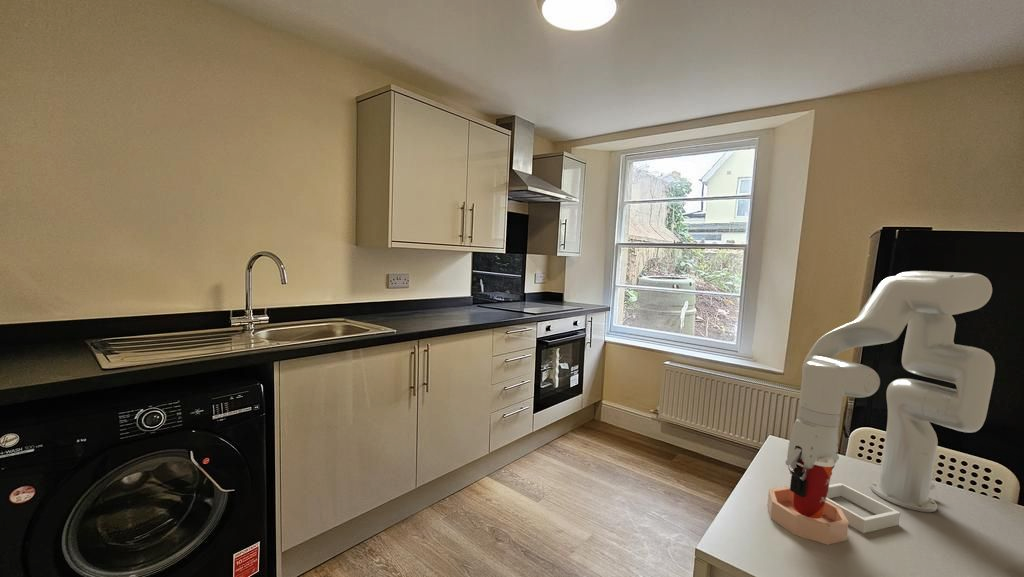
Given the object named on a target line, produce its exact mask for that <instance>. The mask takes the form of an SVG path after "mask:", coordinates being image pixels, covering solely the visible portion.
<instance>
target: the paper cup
mask: <svg viewBox="0 0 1024 577" xmlns="http://www.w3.org/2000/svg"><path fill="white" fill-rule="evenodd" d="M817 460H818V461H817ZM798 462H799V463H801V464H803V465H804V462H803V461H802V457H801V458H800V459H799V461H798ZM813 464H814V466H813V468H812V469H809V471H808V474H807V476H806V479H805V480H807V489H806V496H805V497H801V496H799V495H797V494H796V493H794V492H793V498H792V506H793V508H794V510H795V511H797V512H798V513H800V514H802V515H804V516H807V517H810V518H815V519H819V518H821V517H822V514H823V510H824V506H825V501H826V497H827V492H828V487H829V485H830V482H831V477H832V475H831V473H832V474H833V469H834V468H833V466H834V467H835V466H836V463H834V461H833V457H832V456H831V457H825V458H822V459H821V458H819V459H816V461H815V463H813ZM832 468H833V469H832ZM798 469H799V470H800V471H801V473H802V470H803V467H801V466H799V465H798Z"/></svg>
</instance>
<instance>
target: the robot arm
mask: <svg viewBox="0 0 1024 577" xmlns="http://www.w3.org/2000/svg"><path fill="white" fill-rule="evenodd" d="M992 294H993V287H992V283H991V281H990V280H989V278H988V277H986V276H984V275H982V274H980V273H977V272H976V273H974V272H957V271H956V272H954V271H936V270H935V271H934V270H933V271H932V270H929V271H928V270H910V271H902V272H899V273H897V274H896V275H892V276H891V275H890V276H887V277H885V278H884V279H883V280H881V281H880V282H879V283H878V285H877V286H876V287H875V289H874V290H873V292H872V293H871V294H870V297H869V298H868V300H867V301H866V303H865V304H864V305H863V307H862V308H861V310H860V312H859V313H858V315H857V317H856V318H855V319H854V320H852V321H851V322H848V323H845V324H843V325H840V326H838V327H836V328H834V329H832V330H831V331H829V332H826V333H825V334H823V335H822V336H820V337H819V338H818V339H817V340H816V342H815V343H814V344H813V346H812V347H811V348H810V350H809V351H808V353H807V355H806V356H805V358H804V360H803V363H802V366H801V373H802V375H801V383H800V384H801V386H800V393H799V402H798V407H797V408H798V409H797V419H795V420H794V423H793V426H792V429H791V433H790V438H789V442H788V446H787V447H788V449H787V454H786V457H787V459H786V460H785V462H784V463H785V465H786V467H787V468H788V470H789V474H791V477H790V486H789V487H790V490H791V491H792V492H794V493H796V494H797V495H799V496H801V497H805V496H806V489H807V480H805V479H806V476H807V474H808V471H809V469H812V468H813V466H814V464H813V463H815V461H816V459H819V458H821V459H822V458H825V457H831V456H832V457H833V461H834V463H835V464H836V463H837V462H838V461H839V459H840V457H839V455H838V451H839V450H838V448H839V427H840V419H841V412H842V406H843V404H842V403H843V397H852V398H866V397H867V398H868V397H871V396H873V395H874V394H875V393H876V392H877V391H878V390H879V388H880V385H881V378H880V376H879V374H878V373H877V372H876V370H874V369H873V368H871V367H870V366H868V365H864V364H861V363H857V362H853V361H849V360H846V359H842V358H837V357H836V356H837V355H839V354H840V353H843V352H844V351H847V350H851V349H854V348H859V347H869V346H876V345H881V344H888V343H892V342H895V341H896V340H898V339H899V337H900V336H901V334H902V333H903V331H904V330H905V328H906V326H907V328H906V333H905V338H904V342H903V343H904V344H903V349H902V353H901V366H902V368H903V369H904V370H905V371H907V372H908V373H911V374H913V375H917V376H921V377H925V378H930V379H934V380H938V381H942V382H943V381H944V382H948V383H951V384H954V385H955V386H956V388H951V387H947V386H942V385H939V384H935V383H931V382H927V381H923V380H918V379H914V378H897V379H895V380H893V381H891V382H890V383H889V384H888V386H887V389H886V404H887V422H886V431H885V438H884V443H883V444H884V445H883V450H882V451H883V452H882V458H881V466H880V472H879V480H873V481H871V482H870V487H869V488H870V489H871V491H872V492H874V494H876V495H877V496H879V497H880V498H882V499H884V500H885V501H887V502H891V503H893V504H895V505H896V506H900V507H902V508H905V509H909V510H912V511H917V512H922V513H932V512H933V513H934V512H936V511H937V509H938V505H937V504H938V503H936V502H935V500H934V499H932V498H931V497H930V496H931V495H930V494H931V491H935V489H936V485H935V484H934V483H933V482H932V481H933V474H934V468H935V461H936V454H937V448H938V444H939V442H938V437H937V433H936V431H935V430H934V428H933V426H932V424H931V423H933V424H935V425H939V426H942V427H944V428H948V429H952V430H955V431H957V432H963V433H976V432H978V431H979V430H980V429H981V428H982V427H983V426H984V423H985V421H986V418H987V415H988V409H989V404H990V400H991V395H992V389H993V385H994V379H995V375H996V374H995V373H996V366H995V365H996V363H995V360H994V358H993V356H992V355H991V354H990V352H988V351H986V350H984V349H982V348H978V347H975V346H970V345H969V346H968V345H962V344H957V343H956V344H955V342H954V340H955V333H956V326H957V324H956V320H955V318H954V317H953V315H959V314H963V313H967V312H972V311H975V310H979V309H981V308H982V307H984V306H985V305H987V303H988V302H989V301H990V299H991V297H992ZM801 457H802V461H803V462H804V465H803V464H801V463H799V462H798V461H799V459H800V458H801ZM817 461H818V460H817ZM798 465H799V466H801V467H803V470H802V473H801V471H800V470H799V469H798ZM834 468H835V466H833V468H832V470H833V469H834ZM832 475H833V472H832V473H831V476H832ZM828 488H829V487H828ZM827 493H828V492H827Z"/></svg>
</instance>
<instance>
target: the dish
mask: <svg viewBox="0 0 1024 577" xmlns="http://www.w3.org/2000/svg"><path fill="white" fill-rule="evenodd" d="M792 498H793V492H792V491H791V490H790V486H781V487H774V488H770V489H768V494H767V504H766V506H767V509H768V514H769V518H770V519H771V520H772V521H774V522H775V523H777V524H778V525H780V526H781V527H783V528H784V529H786V531H789V532H790V533H792V534H793V535H795V536H798V537H801V538H803V539H804V538H805V539H808V540H810V541H815V542H817V543H818V542H819V543H821V544H825V545H831V544H837V543H840V542H844V541H845V542H846V541H847V538H848V532H849V530H848V529H849V525H848V524H849V522H848V521H847V519H846V517H845V515H844V513H843V512H842V510H841V508H839V507H837V506H835V505H834V504H832V503H830V502H828V501H825V506H824V510H823V514H822V517H821V518H819V519H815V518H810V517H807V516H804V515H802V514H800V513H798V512H797V511H795V510H794V508H793V506H792Z"/></svg>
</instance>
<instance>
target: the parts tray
mask: <svg viewBox="0 0 1024 577" xmlns="http://www.w3.org/2000/svg"><path fill="white" fill-rule="evenodd" d="M837 497H843V498H844V499H846V500H847V501H850V502H852V503H853V504H855V505H857V506H859V507H861V508H863V509H865V510H867V511H869V512H871V513H872V514H874V515H869V516H865V517H863V516H861V515H860V514H857V513H855V512H854V511H852V510H851V509H849V508H847V507H845V506H843V505H841V504H839V503H838V502H836V501H834V500H832V498H837ZM826 501H828V502H830V503H832V504H834V505H835V506H837V507H839V508H841V510H842V512H843V513H844V515H845V517H846V519H847V521H848V522H849V524H848V526H850V527H852V528H853V529H855V530H857V531H859V532H861V533H862V534H866V533H869V532H874V531H877V530H883V529H887V528H890V527H894V526H899V524H900V518H901V512H900V511H898V510H896V509H894V508H892V507H890V506H888V505H886V504H885V503H882V502H880V501H878V500H876V499H874V498H872V497H871V496H868V495H866V494H864V493H862V492H860V491H858V490H856V489H854V488H852V487H850V486H848V485H846V484H844V483H843V482H839V483H834V484H829V488H828V493H827V497H826Z"/></svg>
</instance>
